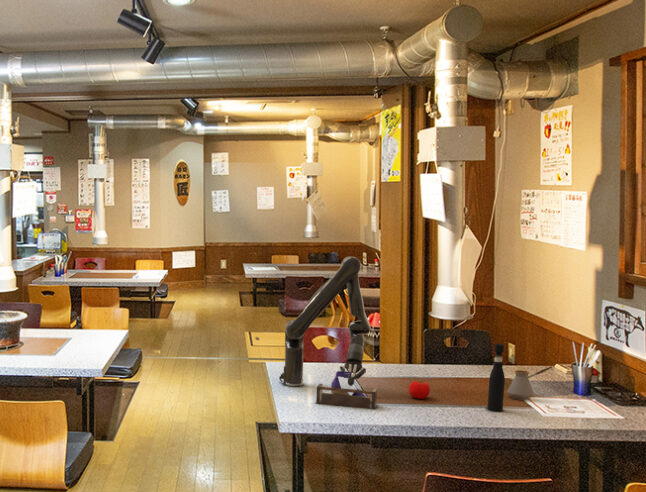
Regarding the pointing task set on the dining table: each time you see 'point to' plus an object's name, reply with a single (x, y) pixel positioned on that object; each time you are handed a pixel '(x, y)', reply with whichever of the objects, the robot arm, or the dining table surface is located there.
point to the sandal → (337, 385)
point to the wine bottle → (496, 382)
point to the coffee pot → (522, 385)
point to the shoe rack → (346, 397)
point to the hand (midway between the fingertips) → (350, 384)
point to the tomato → (419, 389)
